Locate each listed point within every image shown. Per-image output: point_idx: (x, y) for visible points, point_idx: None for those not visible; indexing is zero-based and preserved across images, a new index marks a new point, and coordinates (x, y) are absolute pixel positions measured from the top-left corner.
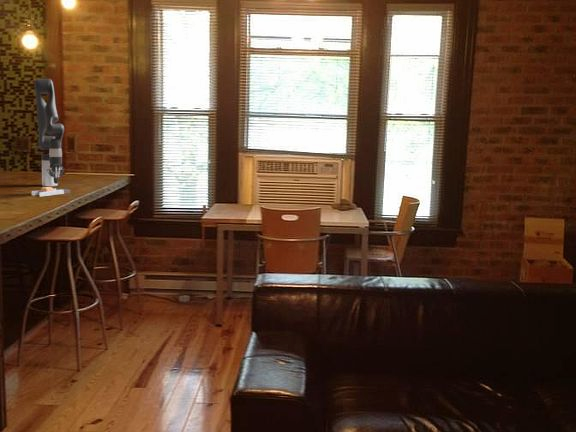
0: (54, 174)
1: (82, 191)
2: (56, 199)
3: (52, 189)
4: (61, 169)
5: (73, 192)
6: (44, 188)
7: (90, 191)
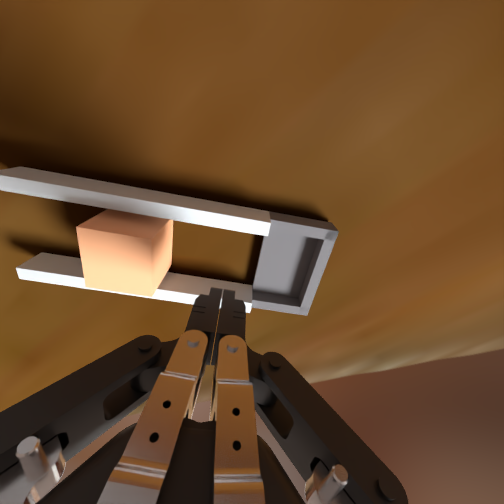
0: (192, 374)
1: (407, 313)
2: (78, 364)
3: (226, 227)
4: (311, 500)
5: (341, 298)
6: (85, 261)
7: (424, 343)
